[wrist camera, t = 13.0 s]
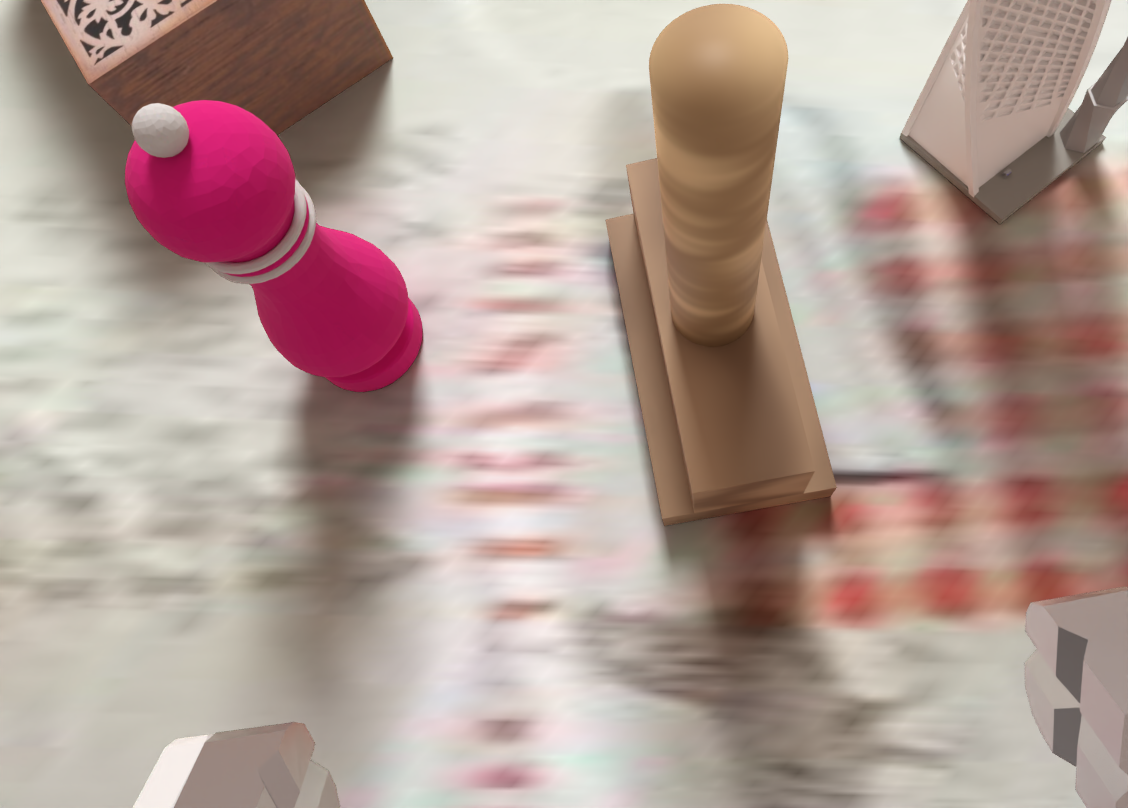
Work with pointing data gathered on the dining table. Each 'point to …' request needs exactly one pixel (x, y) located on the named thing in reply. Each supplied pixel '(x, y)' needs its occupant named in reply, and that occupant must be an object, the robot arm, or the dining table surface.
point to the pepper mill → (270, 241)
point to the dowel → (716, 161)
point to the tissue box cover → (221, 52)
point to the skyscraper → (1015, 99)
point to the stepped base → (715, 384)
